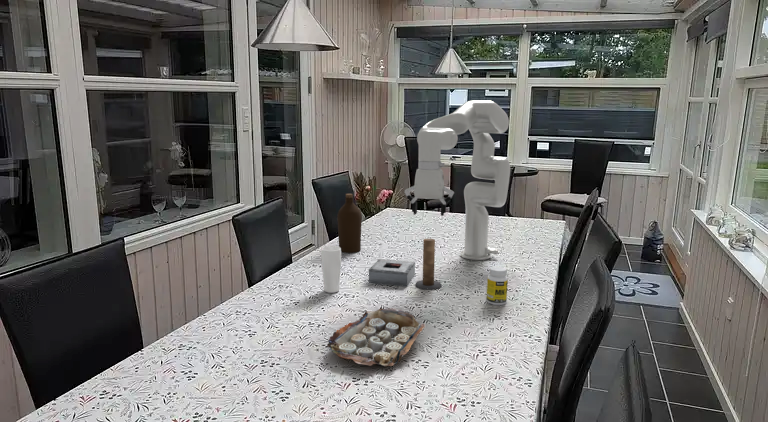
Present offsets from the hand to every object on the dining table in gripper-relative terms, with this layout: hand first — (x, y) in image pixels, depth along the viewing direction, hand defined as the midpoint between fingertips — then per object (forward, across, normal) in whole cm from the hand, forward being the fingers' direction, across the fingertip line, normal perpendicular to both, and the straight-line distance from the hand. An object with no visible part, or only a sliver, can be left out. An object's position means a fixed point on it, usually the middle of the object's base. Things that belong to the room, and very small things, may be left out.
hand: (428, 214), depth 185 cm
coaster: (+25, -1, +4) cm, 25 cm away
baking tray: (+24, +5, +55) cm, 61 cm away
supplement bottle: (+25, -25, +15) cm, 38 cm away
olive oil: (+25, +40, -33) cm, 58 cm away
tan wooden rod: (+24, -1, +4) cm, 24 cm away
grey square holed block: (+25, +13, 0) cm, 28 cm away
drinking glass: (+24, +30, +18) cm, 43 cm away
